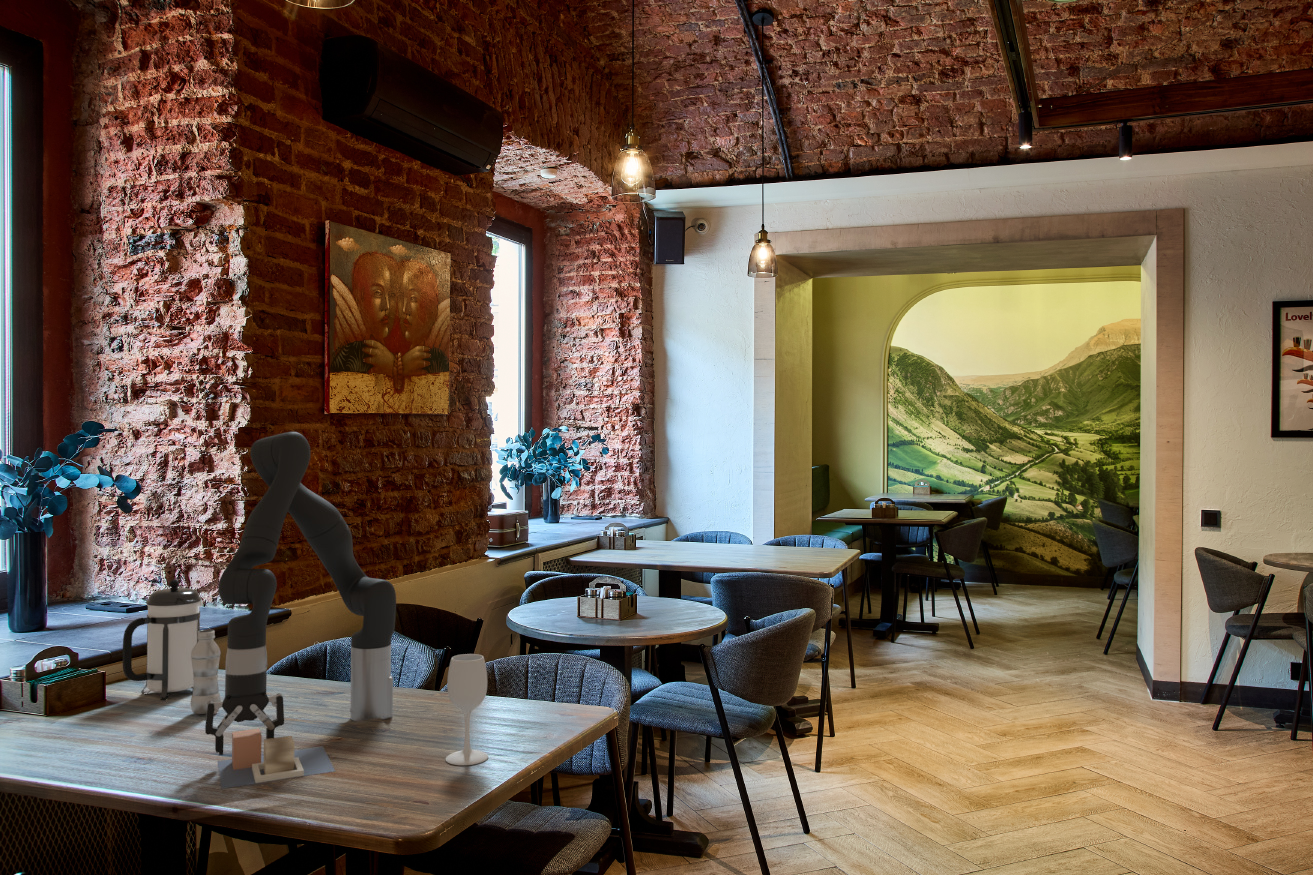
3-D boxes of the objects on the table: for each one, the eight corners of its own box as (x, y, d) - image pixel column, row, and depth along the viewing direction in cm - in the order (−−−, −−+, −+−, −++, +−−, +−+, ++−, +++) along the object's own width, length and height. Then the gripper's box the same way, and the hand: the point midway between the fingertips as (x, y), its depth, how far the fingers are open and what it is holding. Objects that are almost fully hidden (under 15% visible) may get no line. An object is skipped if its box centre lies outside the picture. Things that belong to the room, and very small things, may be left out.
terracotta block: (259, 758, 183) (259, 728, 183) (261, 765, 179) (261, 735, 179) (231, 762, 181) (232, 731, 181) (233, 769, 176) (233, 738, 176)
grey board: (322, 753, 191) (322, 741, 191) (335, 778, 176) (335, 765, 176) (217, 768, 181) (217, 756, 181) (221, 796, 166) (221, 783, 166)
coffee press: (151, 686, 245) (152, 576, 246) (213, 685, 247) (214, 575, 248) (120, 704, 228) (122, 585, 229) (187, 702, 230) (188, 584, 230)
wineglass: (467, 768, 182) (468, 663, 182) (436, 760, 186) (437, 658, 187) (496, 756, 189) (497, 655, 189) (466, 749, 194) (467, 651, 194)
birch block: (291, 766, 179) (291, 735, 179) (294, 773, 174) (294, 742, 174) (263, 770, 176) (263, 739, 176) (265, 778, 172) (266, 746, 172)
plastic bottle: (208, 717, 216) (209, 634, 217) (183, 716, 218) (184, 632, 218) (226, 710, 223) (227, 629, 223) (202, 708, 224) (203, 627, 224)
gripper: (282, 661, 187) (281, 740, 186) (206, 668, 180) (204, 750, 180) (286, 669, 180) (285, 751, 180) (206, 676, 173) (205, 761, 173)
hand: (244, 750), depth 180 cm, fingers open, 8 cm apart
